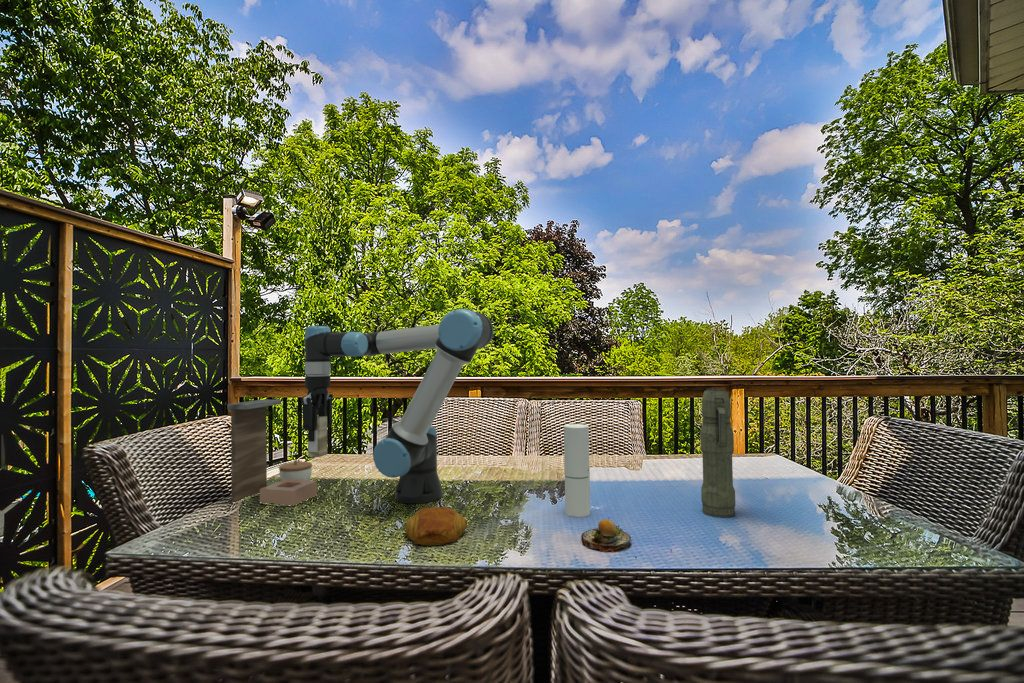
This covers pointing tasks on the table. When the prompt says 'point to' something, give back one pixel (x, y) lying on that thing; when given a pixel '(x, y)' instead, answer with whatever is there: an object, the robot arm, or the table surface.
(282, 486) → the socket block
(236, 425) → the capped wooden panel
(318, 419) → the peg
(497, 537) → the table surface
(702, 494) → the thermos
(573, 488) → the cylindrical container
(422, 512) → the croissant
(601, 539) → the wood slice egg decoration
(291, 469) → the lidded jar
